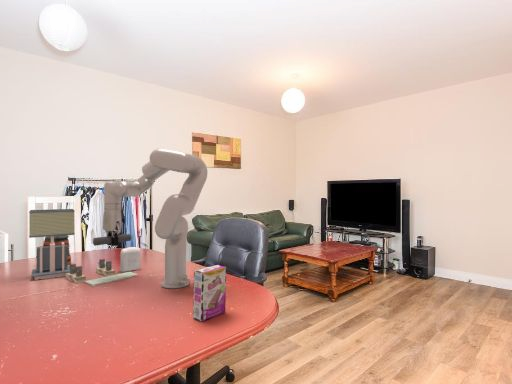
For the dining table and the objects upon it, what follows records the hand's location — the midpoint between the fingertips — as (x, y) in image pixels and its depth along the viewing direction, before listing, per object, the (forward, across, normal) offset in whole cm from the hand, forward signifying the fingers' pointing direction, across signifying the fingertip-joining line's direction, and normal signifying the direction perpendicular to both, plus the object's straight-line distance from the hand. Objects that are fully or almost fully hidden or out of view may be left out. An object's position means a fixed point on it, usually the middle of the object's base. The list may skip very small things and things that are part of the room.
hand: (112, 244), depth 150 cm
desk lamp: (+17, -29, -16) cm, 37 cm away
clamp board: (+17, -11, -5) cm, 21 cm away
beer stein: (+17, -54, -6) cm, 57 cm away
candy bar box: (+17, +69, 0) cm, 71 cm away
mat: (+17, 0, 0) cm, 17 cm away
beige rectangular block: (+17, -22, +6) cm, 28 cm away
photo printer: (+17, -8, +14) cm, 23 cm away
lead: (-1, 0, 0) cm, 1 cm away
